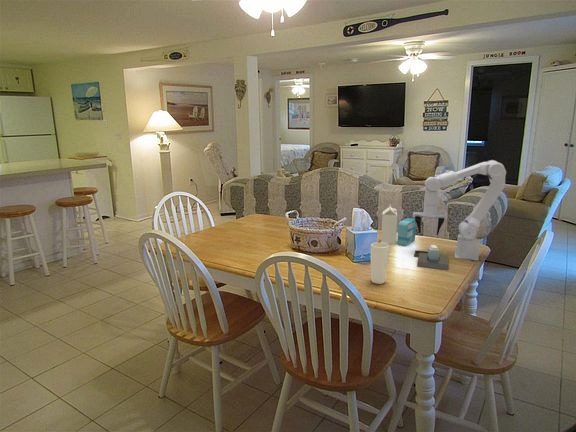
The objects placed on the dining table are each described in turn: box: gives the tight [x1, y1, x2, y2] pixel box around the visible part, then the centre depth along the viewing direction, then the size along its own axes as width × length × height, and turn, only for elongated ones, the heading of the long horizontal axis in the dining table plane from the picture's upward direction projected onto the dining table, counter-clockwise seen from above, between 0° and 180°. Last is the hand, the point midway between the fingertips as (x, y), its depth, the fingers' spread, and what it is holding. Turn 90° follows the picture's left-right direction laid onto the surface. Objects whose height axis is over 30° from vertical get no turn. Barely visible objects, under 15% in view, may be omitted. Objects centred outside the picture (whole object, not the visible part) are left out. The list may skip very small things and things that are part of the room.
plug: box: [427, 244, 440, 261], centre depth 173 cm, size 4×4×8 cm
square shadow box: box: [413, 249, 428, 258], centre depth 184 cm, size 6×6×2 cm
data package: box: [396, 217, 417, 247], centre depth 200 cm, size 12×4×12 cm, turn 142°
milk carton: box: [380, 203, 398, 245], centre depth 201 cm, size 7×7×19 cm
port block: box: [416, 252, 449, 271], centre depth 174 cm, size 12×12×3 cm
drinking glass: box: [370, 241, 390, 285], centre depth 155 cm, size 7×7×15 cm
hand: (428, 233), depth 184 cm, fingers open, 7 cm apart
